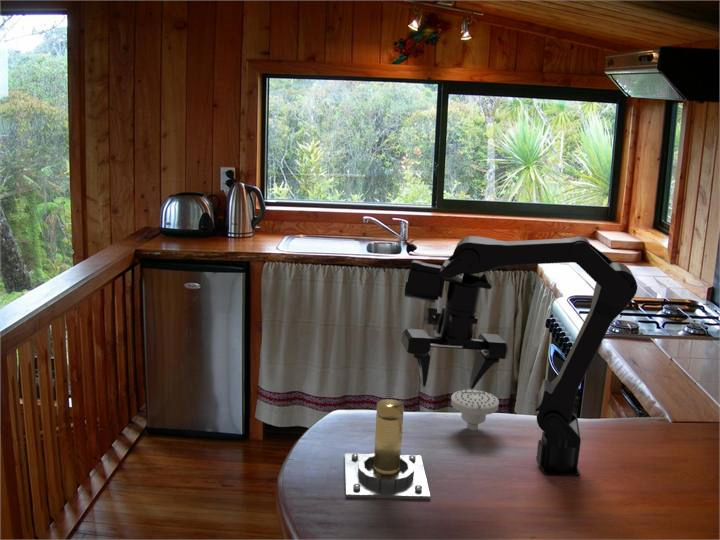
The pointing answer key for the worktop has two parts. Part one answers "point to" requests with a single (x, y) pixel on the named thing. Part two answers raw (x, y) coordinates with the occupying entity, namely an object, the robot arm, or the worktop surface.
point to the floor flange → (385, 479)
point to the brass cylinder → (388, 438)
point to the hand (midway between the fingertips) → (447, 386)
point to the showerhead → (474, 406)
